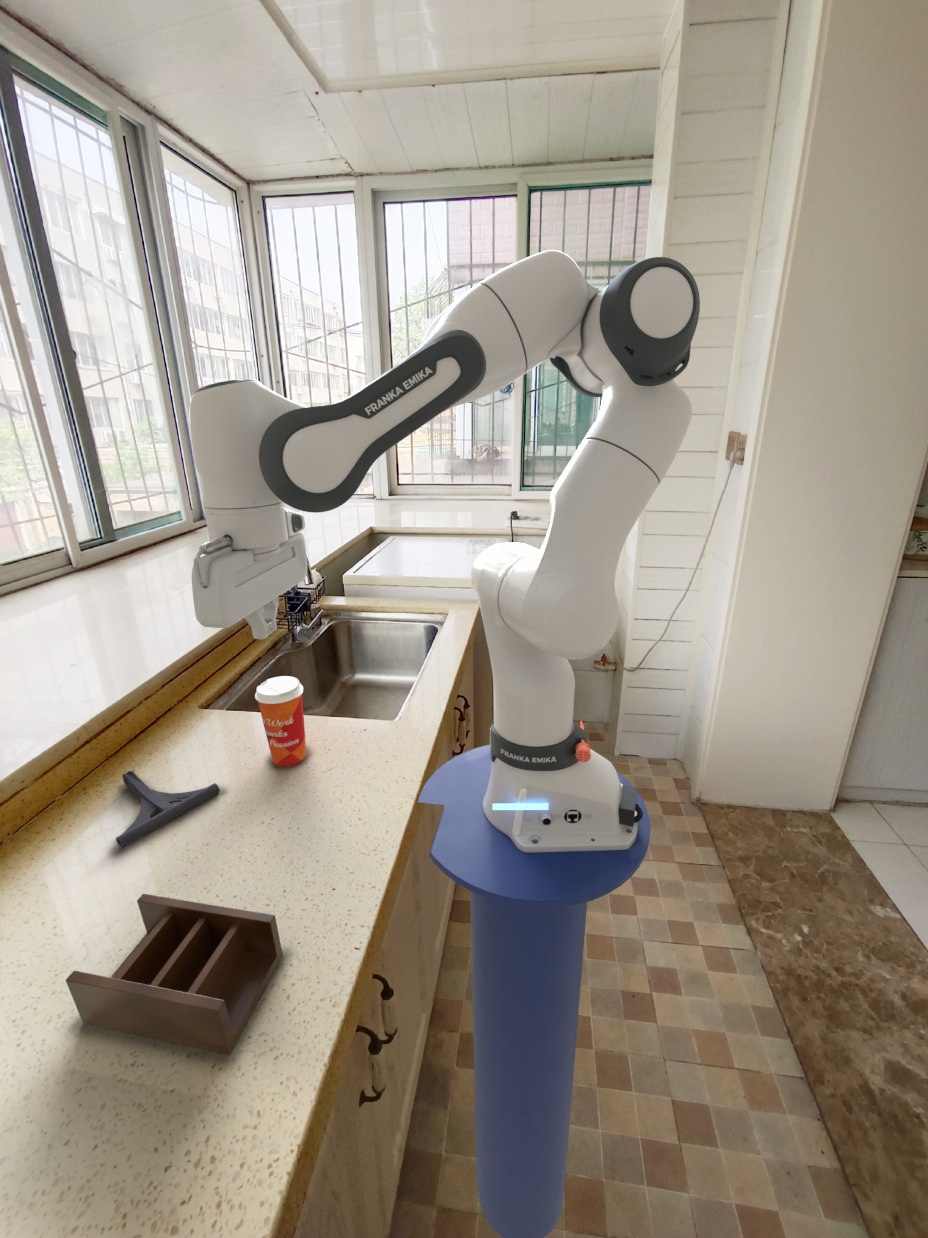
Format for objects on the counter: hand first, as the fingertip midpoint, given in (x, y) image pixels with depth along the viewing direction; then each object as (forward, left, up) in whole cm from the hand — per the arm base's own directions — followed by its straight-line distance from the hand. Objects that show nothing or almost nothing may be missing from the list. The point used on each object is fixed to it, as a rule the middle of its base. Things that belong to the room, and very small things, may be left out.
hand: (265, 635), depth 69 cm
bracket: (+24, 0, -29) cm, 38 cm away
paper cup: (+8, -14, -29) cm, 33 cm away
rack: (-1, +25, -29) cm, 39 cm away
